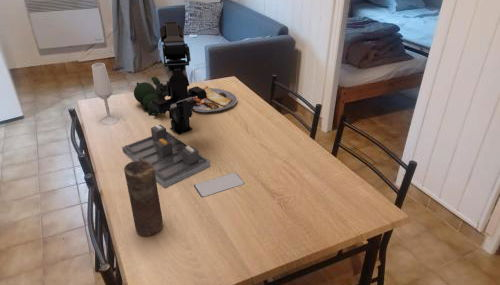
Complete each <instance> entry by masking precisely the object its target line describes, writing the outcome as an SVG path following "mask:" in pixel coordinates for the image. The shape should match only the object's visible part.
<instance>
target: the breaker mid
mask: <svg viewBox="0 0 500 285" xmlns="http://www.w3.org/2000/svg"><path fill="white" fill-rule="evenodd" d="M155 144H156V151H157V154H158V155H159V156H161V157H162V158H164V157H166V156H168V155H171V154H173V150H172V143H171V142H170V141H168V140H167V139H159V141H158V142H155Z"/></svg>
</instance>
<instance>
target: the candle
mask: <svg viewBox="0 0 500 285" xmlns="http://www.w3.org/2000/svg"><path fill="white" fill-rule="evenodd" d="M123 169H124V170H123V172H124V176H125V180H126V185H127V193H128V196H129V201H130V208H131V212H132V217H133V222H134V223H133V224H134V227H135V231H136V234H137V235H138V236H143V237H148V236H150V235H153V234H156V233H158V232H159V231H160V230H161V229H162V226H163V222H164V220H163V214H162V209H161V208H162V207H161V202H160V201H161V200H160V196H159V190H158V189H159V188H158V184H157V183H158V182H157V181H156V177H155V170H154V166H153V165H152V164H151V163H150V162H148V161H131V162H128V163H126V165H124V168H123Z"/></svg>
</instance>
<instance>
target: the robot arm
mask: <svg viewBox="0 0 500 285" xmlns="http://www.w3.org/2000/svg"><path fill="white" fill-rule="evenodd" d="M159 35H160V43H163V44H162V45H161V48H162V56H163V57H162V58H163V66H164V68H167V76H168V80H167V81H166V83H165V84H164V83H162V82H160V83H159V84H156V85H155V89H156V90H157V93H162V94H163V95H164V94H167V96H166V97H167V99H166V98H165V99H164V98H162V97H161V98H157V99H154V100H152V102H151V108H153V109H154V110H156V111H157V112H159V114H162V113H164V112H166V113H168V116H169V119H170V130H171V131H173V132H174V133H175V134H177V135H182V134H185V133H187V132H190V131H193V128H192V126H191V124H190V118H192V116H193V110H194V109H193V107H194V105H195V104H196V103H197V101H195V99H194V97H196V96H197V98H198V99H199V100H202V99H205V98H207V93H206V91H205V90H204V88H202V87H200V86H197V85H196V86H193V87H190V88H188V87H189V86H190V82H189V77H188V72H187V66H188V67H189V66H190V62H191V60H192V59H191V54H190V53H191V51H190V47H189V45H188V43H186V42H185V35H184V27H183V26H181V25H180V24H179V21H177V20H171V21H170V20H169V21H168V20H167V21H165V22H163V25H162V26H161V27H160V28H159ZM169 97H170V98H169Z"/></svg>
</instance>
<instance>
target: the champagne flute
mask: <svg viewBox="0 0 500 285" xmlns="http://www.w3.org/2000/svg"><path fill="white" fill-rule="evenodd" d="M91 71H92V78H93V79H92V81H93V87H94V88H93V89H94V94H95V95H96V96H97V97H98V98H99V99H101V100H103V103H104V106H105V110H106V115H107V116H106V117H104V118H103V119H102V120H101V123H102V124H103V125H112V124H113V125H114V124H115V123H117V122H118V121H119V118H118V117H116V116H111V113H110V108H109V103H108V102H109V101H108V99H109V98H110V97H111V96H112V94H113V91H114V90H113V88H112V84H111V80H110V77H109V74H108V70H107V67H106V64H105V63H103V62H96V63H93V64H92V65H91Z"/></svg>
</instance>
